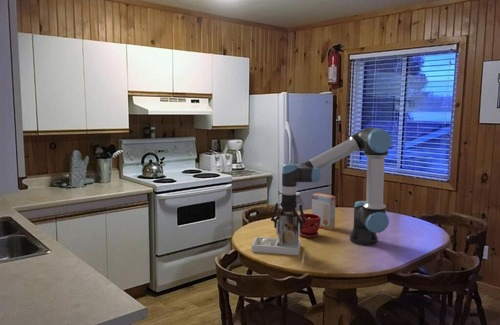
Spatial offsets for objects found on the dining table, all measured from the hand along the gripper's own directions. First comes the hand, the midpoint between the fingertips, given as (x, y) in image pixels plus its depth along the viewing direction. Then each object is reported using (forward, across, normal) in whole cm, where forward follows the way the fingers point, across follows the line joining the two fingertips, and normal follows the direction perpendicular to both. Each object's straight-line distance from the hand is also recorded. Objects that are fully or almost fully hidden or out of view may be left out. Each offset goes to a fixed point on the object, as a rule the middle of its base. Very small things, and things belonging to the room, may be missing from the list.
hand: (288, 234), depth 219 cm
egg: (+8, +12, 0) cm, 14 cm away
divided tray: (+9, +6, 0) cm, 11 cm away
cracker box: (+9, -18, -47) cm, 51 cm away
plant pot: (+9, -10, -29) cm, 32 cm away
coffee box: (+5, 0, 0) cm, 5 cm away
